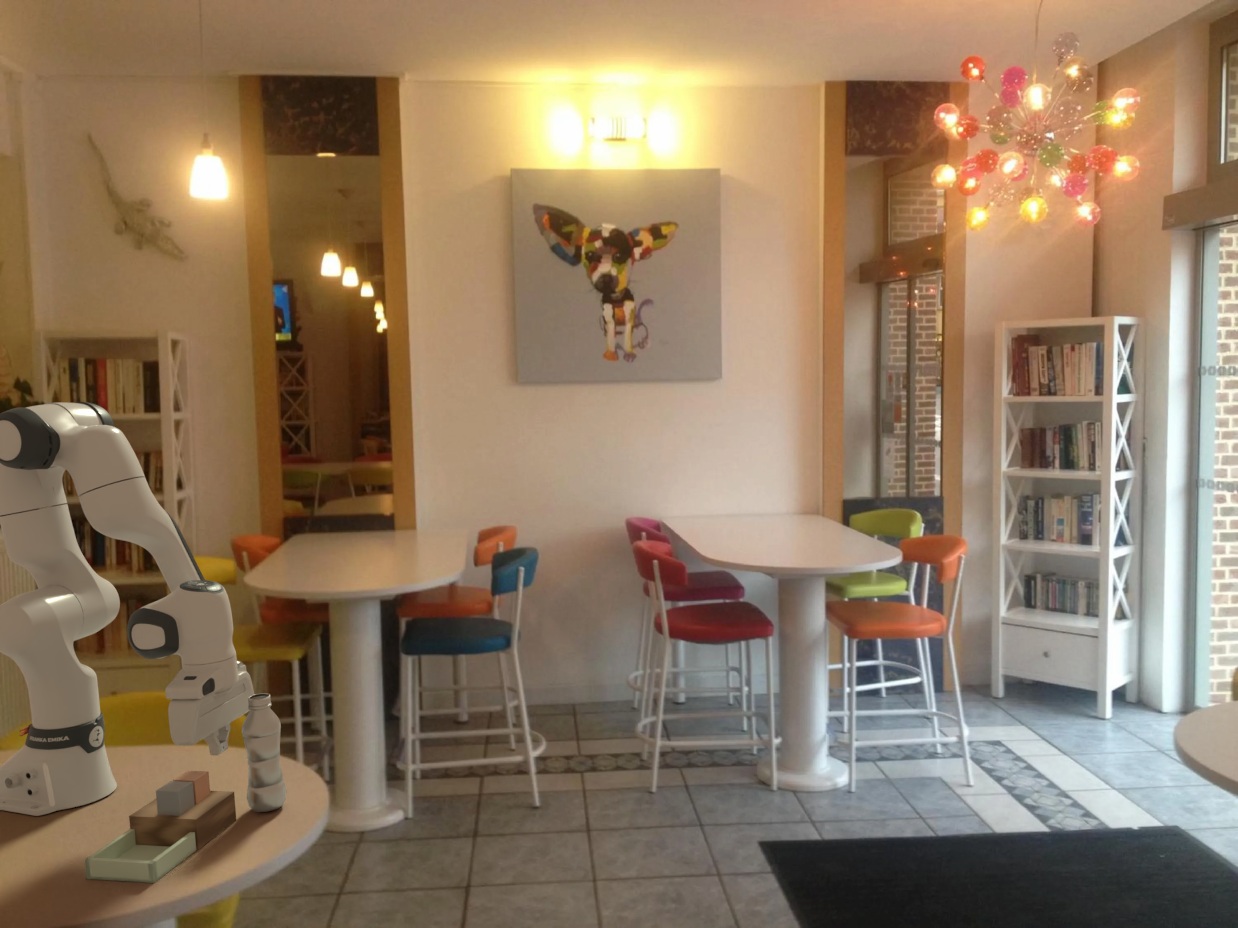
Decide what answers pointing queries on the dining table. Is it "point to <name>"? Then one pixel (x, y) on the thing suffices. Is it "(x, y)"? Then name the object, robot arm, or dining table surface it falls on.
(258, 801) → the plastic bottle
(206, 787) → the peach colored cube
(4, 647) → the robot arm
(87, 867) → the tray
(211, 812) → the brown wooden block
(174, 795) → the matte grey cube
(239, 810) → the dining table surface
